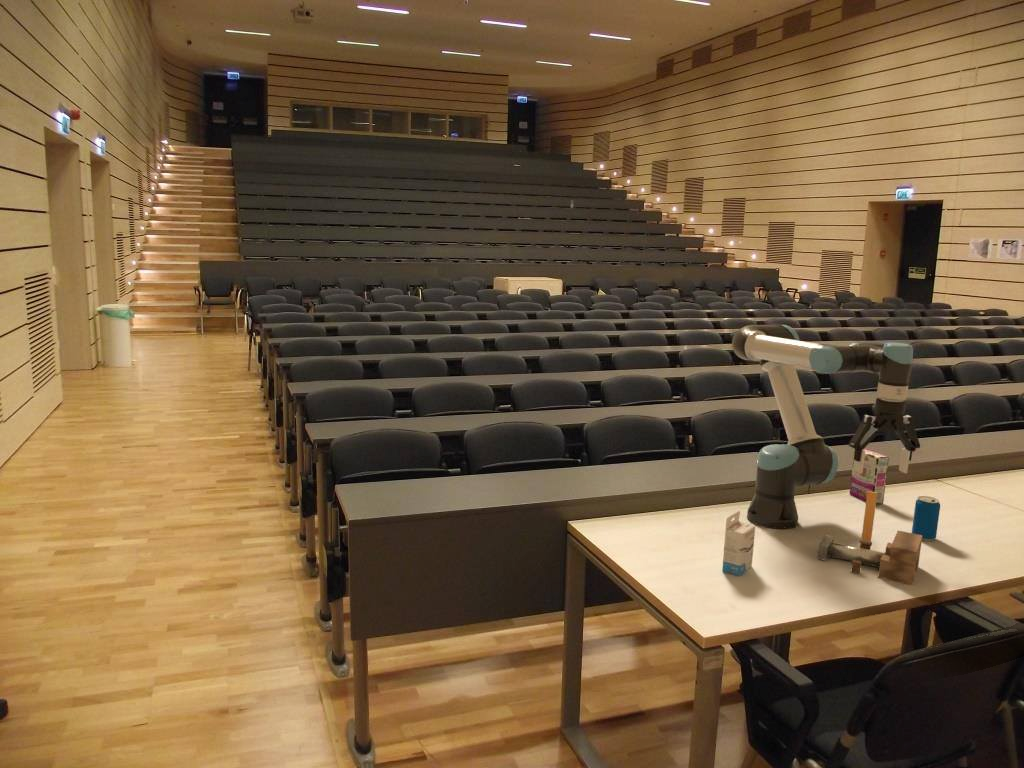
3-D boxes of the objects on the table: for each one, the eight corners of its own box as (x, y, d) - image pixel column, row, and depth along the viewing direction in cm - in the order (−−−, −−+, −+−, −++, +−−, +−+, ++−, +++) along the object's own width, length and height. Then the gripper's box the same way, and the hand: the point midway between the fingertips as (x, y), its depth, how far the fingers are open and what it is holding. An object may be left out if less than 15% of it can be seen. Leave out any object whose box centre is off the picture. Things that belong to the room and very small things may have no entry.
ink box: (739, 576, 201) (744, 522, 198) (721, 571, 204) (725, 518, 201) (752, 566, 207) (757, 514, 205) (734, 561, 210) (739, 509, 208)
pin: (816, 558, 213) (818, 544, 212) (823, 548, 221) (824, 534, 220) (888, 575, 204) (889, 560, 203) (892, 563, 211) (894, 549, 210)
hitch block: (850, 571, 206) (854, 539, 204) (860, 552, 219) (864, 522, 217) (912, 586, 198) (916, 553, 196) (918, 565, 211) (922, 533, 210)
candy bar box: (884, 504, 261) (890, 456, 258) (872, 505, 259) (877, 457, 256) (860, 493, 271) (865, 448, 268) (848, 494, 270) (853, 448, 267)
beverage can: (938, 542, 228) (944, 503, 225) (915, 540, 229) (920, 501, 227) (931, 534, 234) (936, 496, 232) (908, 532, 235) (913, 494, 233)
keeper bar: (866, 491, 215) (866, 490, 216) (859, 543, 217) (860, 542, 218) (878, 493, 214) (878, 492, 215) (871, 546, 215) (871, 545, 216)
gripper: (857, 401, 210) (847, 476, 214) (941, 402, 213) (929, 475, 218) (841, 395, 217) (832, 467, 222) (923, 396, 221) (912, 467, 225)
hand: (880, 471), depth 220 cm, fingers open, 13 cm apart
